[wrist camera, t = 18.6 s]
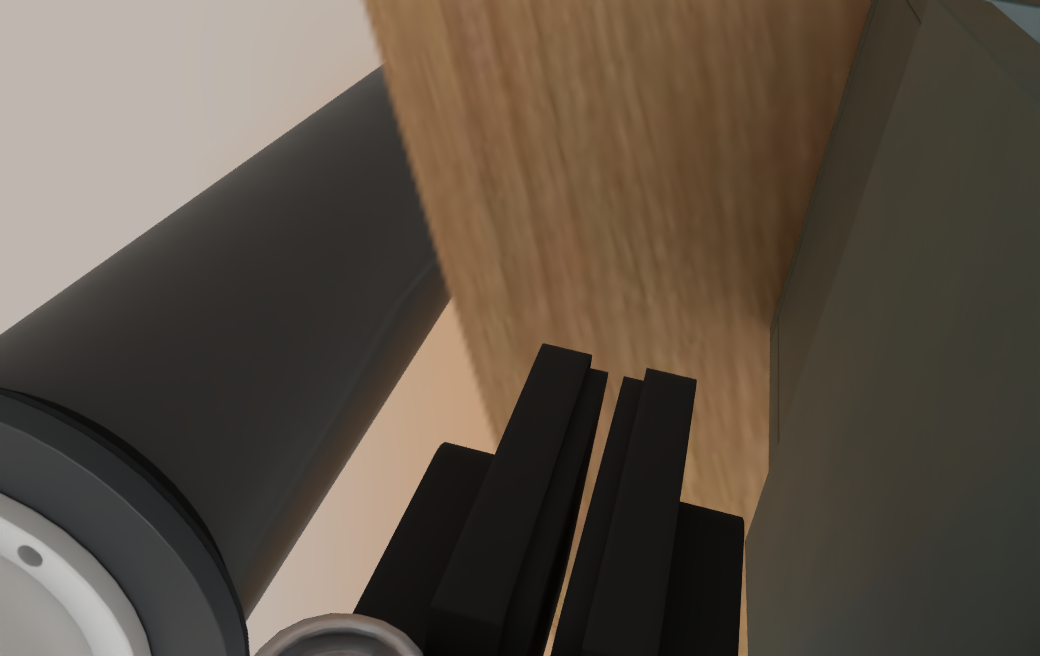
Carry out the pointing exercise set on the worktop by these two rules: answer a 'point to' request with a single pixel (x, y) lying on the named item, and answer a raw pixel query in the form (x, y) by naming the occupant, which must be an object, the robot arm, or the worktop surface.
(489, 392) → the worktop surface
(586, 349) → the worktop surface
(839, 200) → the chest
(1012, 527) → the lid
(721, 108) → the worktop surface
